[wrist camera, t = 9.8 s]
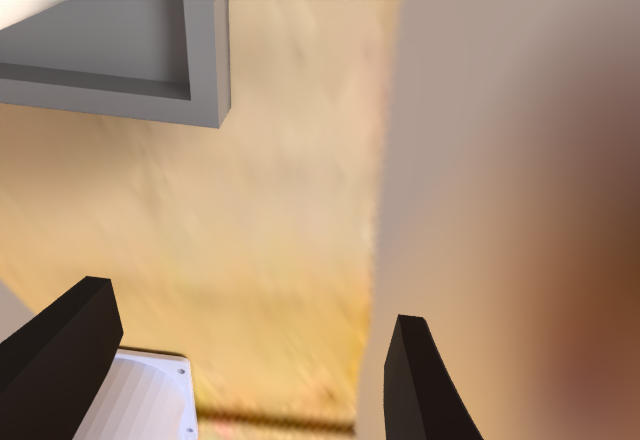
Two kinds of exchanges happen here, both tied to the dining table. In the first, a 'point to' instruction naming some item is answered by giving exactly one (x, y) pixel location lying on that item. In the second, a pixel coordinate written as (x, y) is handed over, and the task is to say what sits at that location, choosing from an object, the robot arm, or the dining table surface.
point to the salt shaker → (22, 10)
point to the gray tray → (122, 60)
